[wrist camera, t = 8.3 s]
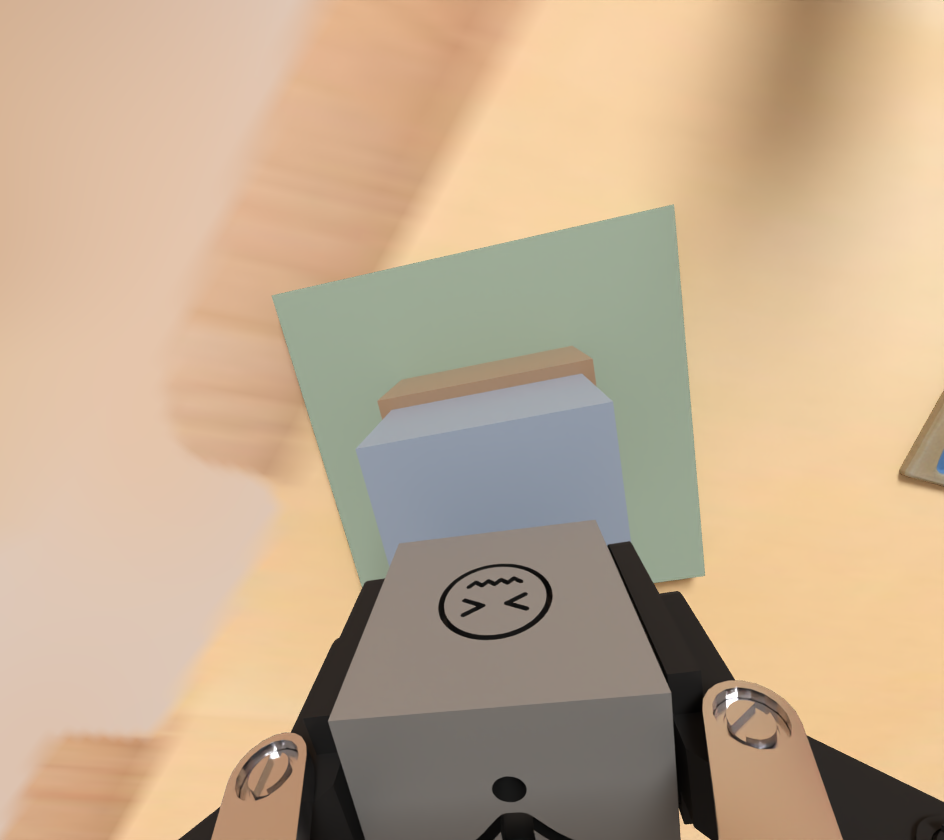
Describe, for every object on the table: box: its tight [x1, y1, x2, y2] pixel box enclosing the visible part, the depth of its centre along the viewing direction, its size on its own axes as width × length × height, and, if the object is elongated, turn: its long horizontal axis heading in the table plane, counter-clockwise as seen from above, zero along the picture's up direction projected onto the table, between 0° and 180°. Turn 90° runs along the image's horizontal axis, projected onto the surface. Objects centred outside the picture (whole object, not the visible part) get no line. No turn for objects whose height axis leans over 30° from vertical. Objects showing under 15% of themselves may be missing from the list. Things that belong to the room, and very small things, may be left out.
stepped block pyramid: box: [272, 205, 705, 587], centre depth 20 cm, size 20×20×11 cm
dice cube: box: [328, 520, 681, 840], centre depth 9 cm, size 5×5×5 cm
